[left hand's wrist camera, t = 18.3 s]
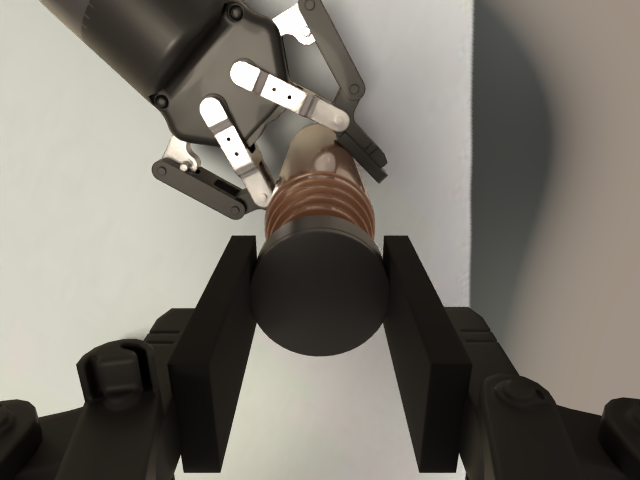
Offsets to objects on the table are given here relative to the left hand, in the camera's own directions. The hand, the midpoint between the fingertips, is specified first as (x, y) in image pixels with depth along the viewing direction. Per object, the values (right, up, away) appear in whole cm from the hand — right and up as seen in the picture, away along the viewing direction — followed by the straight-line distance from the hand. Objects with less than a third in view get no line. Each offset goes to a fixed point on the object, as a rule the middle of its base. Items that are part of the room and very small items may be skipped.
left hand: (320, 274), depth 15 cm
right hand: (+2, +3, +13) cm, 14 cm away
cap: (0, 0, -1) cm, 1 cm away
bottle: (0, +7, +19) cm, 20 cm away
